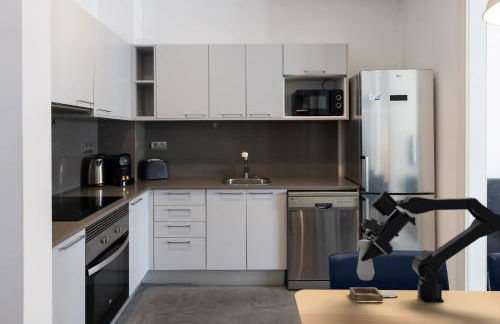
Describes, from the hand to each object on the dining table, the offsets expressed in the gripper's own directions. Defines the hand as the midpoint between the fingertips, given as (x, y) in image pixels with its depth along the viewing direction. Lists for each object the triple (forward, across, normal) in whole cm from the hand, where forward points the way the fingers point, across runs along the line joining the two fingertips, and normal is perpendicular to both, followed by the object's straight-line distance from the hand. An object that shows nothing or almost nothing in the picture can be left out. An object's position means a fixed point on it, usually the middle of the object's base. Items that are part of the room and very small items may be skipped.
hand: (360, 259), depth 143 cm
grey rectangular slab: (+4, -4, +15) cm, 16 cm away
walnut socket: (+8, 0, +10) cm, 13 cm away
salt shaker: (+4, 0, +6) cm, 7 cm away
